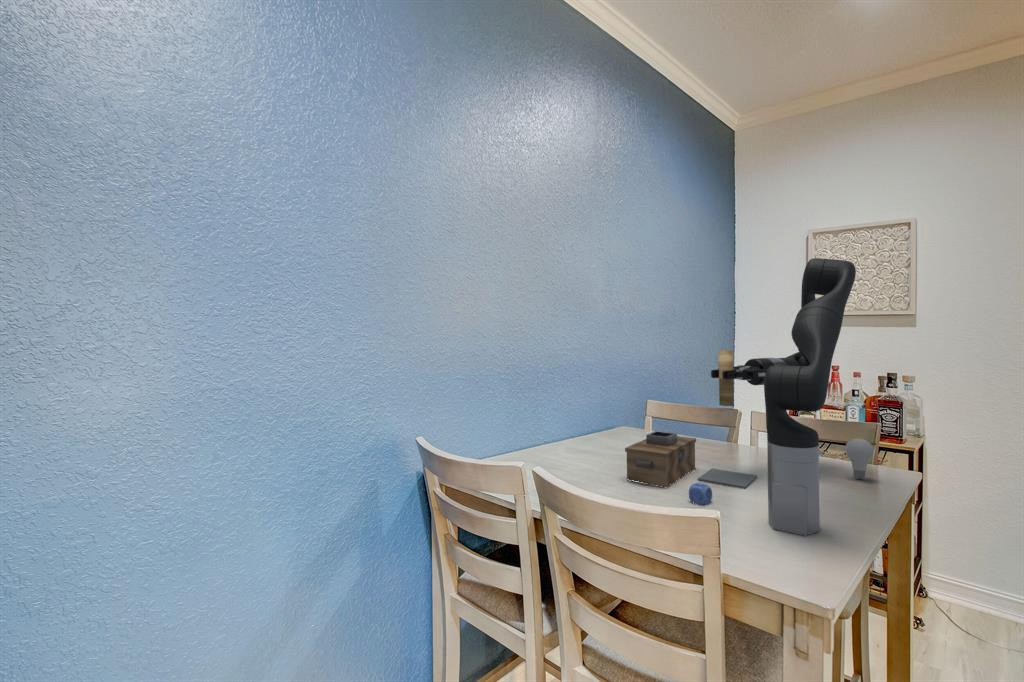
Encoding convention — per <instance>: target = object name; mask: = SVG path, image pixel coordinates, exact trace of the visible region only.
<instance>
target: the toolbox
mask: <svg viewBox="0 0 1024 682" xmlns="http://www.w3.org/2000/svg"><path fill="white" fill-rule="evenodd" d="M696 442H697V437H688V436H680V435H677V443H675V444H673V445H671V446H669V447H667V446H660V445H653V444H646V438H645V439H642V440H641V441H638V442H635V443H634V444H631V445H629V446H626V447H625V448H624V452H625V453H626V480H627V479H629V480H634V481H639V482H643V483H648V484H653V485H658V486H662V487H661V488H663V487H667V486H668V487H669V485H670V484H671V485H672V483H673V482H674V483H676V482H677V481H679V480H680V479H682V478H683V477H685V476H686V475H688V474H689V473H691V472H692V471H694V470H695V469H696ZM694 468H695V469H694ZM693 469H694V470H693ZM691 470H692V471H691ZM690 471H691V472H690ZM688 472H689V473H688ZM687 473H688V474H687ZM685 474H686V475H685ZM684 475H685V476H684ZM682 476H683V477H682ZM681 477H682V478H681ZM679 478H680V479H679ZM678 479H679V480H678ZM676 480H677V481H676ZM675 481H676V482H675ZM643 483H642V484H643ZM674 483H673V484H674ZM648 484H647V485H648ZM653 485H652V486H653ZM671 485H670V486H671ZM658 486H657V487H658ZM668 487H667V488H668Z"/></svg>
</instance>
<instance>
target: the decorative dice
mask: <svg viewBox="0 0 1024 682" xmlns="http://www.w3.org/2000/svg"><path fill="white" fill-rule="evenodd" d="M688 489H689V490H688V498H689V500H690V501H691V502H692V503H693V502H694V503H693V504H695V503H696V504H695V505H699V504H701V505H700V506H705V505H706V504H707V505H709V504H710V503H711V502H712V499H713V491H712V490H713V489H712V487H710V485H708V484H707V483H704V482H703V483H701V482H695V483H692V484H691V485H690V486H689V488H688Z"/></svg>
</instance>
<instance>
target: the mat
mask: <svg viewBox="0 0 1024 682" xmlns="http://www.w3.org/2000/svg"><path fill="white" fill-rule="evenodd" d="M757 478H758V475H756V474H751V473H750V474H749V473H744V472H737V471H733V470H732V471H731V470H724V469H718V468H712V467H711V469H709V470H708V471H706V472H705V473H703V474H702V475H701V476H699V477H698V478H697V481H698V480H699V482H703V481H704V482H705V483H709V484H714V483H716V484H715V485H720V484H721V485H720V486H726V485H727V487H731V486H732V487H733V488H737V487H738V489H743V488H744V489H743V490H746V489H747V488H748V487H749V486H750V485H751V484H752V483H753V482H754V481H756V479H757ZM704 482H703V483H704Z"/></svg>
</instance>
